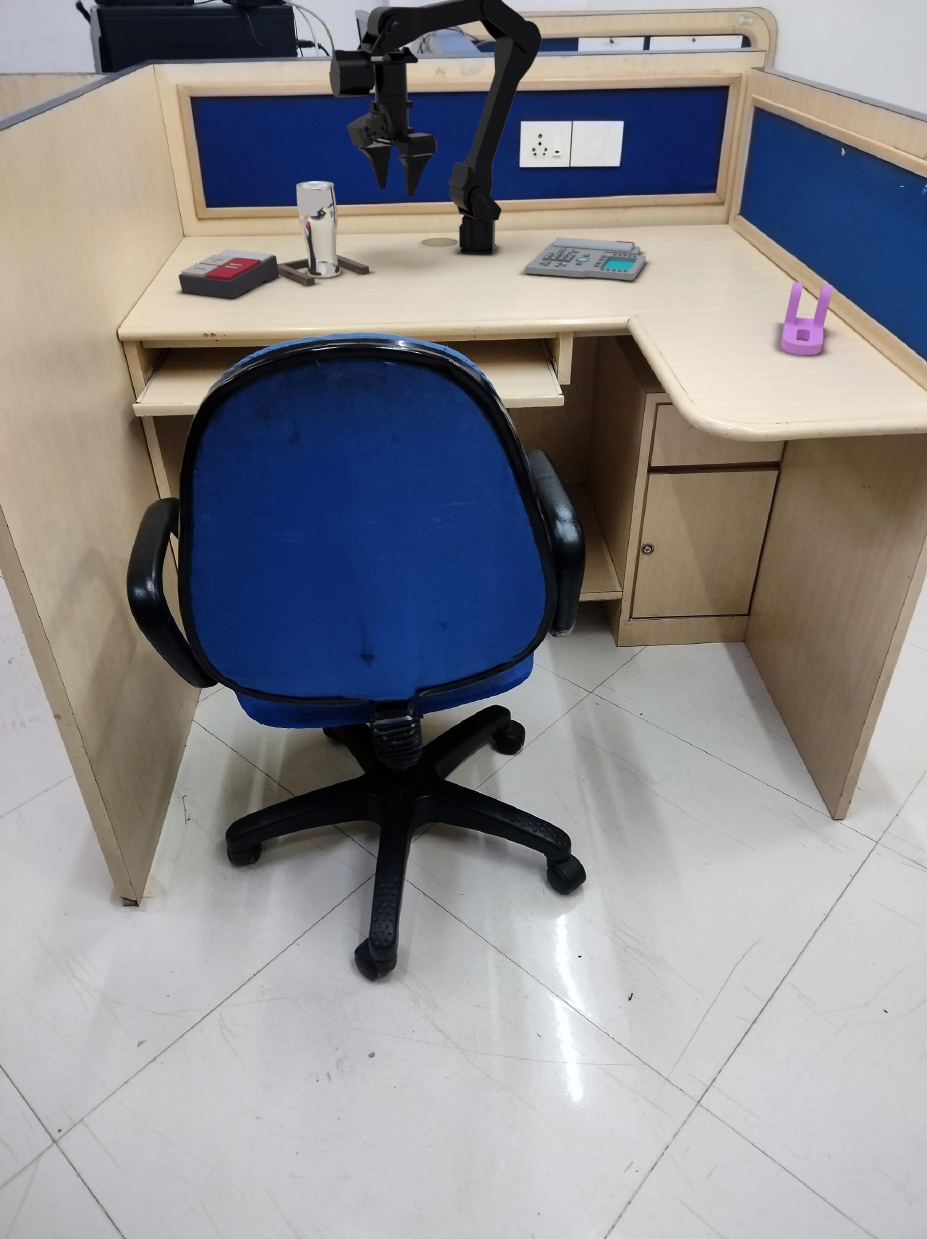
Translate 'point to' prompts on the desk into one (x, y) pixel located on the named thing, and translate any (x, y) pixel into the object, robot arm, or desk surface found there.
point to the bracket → (805, 323)
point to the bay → (290, 272)
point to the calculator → (229, 273)
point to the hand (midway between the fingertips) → (396, 192)
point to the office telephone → (589, 259)
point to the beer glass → (319, 226)
